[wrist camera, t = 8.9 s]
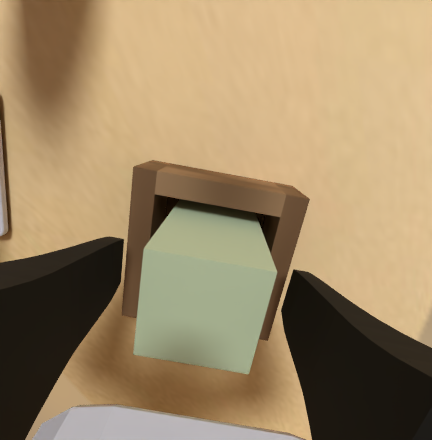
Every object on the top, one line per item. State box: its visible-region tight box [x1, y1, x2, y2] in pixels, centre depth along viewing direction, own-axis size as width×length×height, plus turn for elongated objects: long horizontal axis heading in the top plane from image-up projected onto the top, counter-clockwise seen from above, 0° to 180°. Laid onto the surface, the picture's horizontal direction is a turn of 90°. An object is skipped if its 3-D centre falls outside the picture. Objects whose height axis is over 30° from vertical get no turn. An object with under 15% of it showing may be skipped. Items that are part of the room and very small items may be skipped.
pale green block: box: [133, 199, 277, 374], centre depth 12 cm, size 4×4×7 cm
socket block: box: [122, 160, 310, 341], centre depth 14 cm, size 8×8×3 cm
